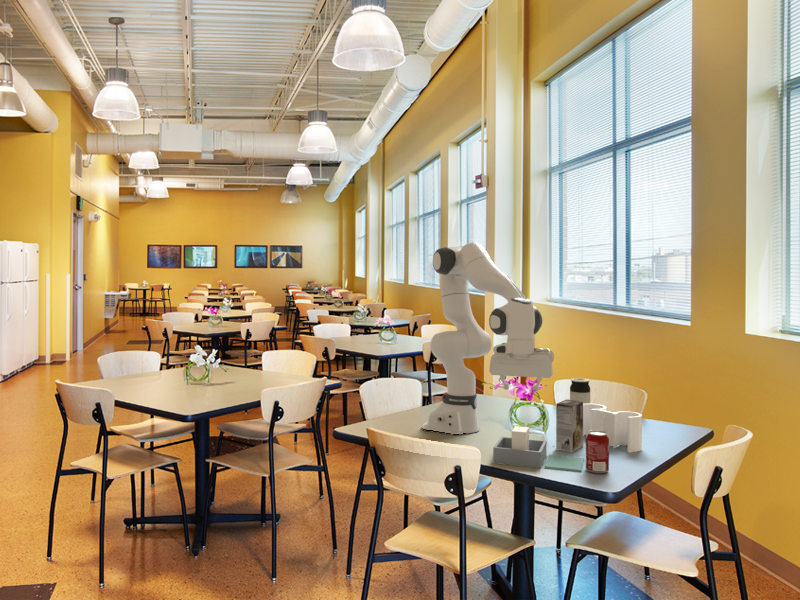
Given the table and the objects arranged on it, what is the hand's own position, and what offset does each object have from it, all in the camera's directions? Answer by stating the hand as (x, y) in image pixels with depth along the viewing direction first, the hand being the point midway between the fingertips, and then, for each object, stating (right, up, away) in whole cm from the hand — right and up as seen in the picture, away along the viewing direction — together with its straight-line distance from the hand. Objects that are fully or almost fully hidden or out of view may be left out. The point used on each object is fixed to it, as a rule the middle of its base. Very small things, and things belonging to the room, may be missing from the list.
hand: (520, 390), depth 193 cm
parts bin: (0, -23, +1) cm, 23 cm away
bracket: (+36, -22, +20) cm, 47 cm away
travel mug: (+34, -21, +50) cm, 64 cm away
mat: (+13, -23, -4) cm, 27 cm away
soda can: (+21, -23, -11) cm, 33 cm away
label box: (0, -23, +1) cm, 23 cm away
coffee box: (+20, -23, +14) cm, 33 cm away
